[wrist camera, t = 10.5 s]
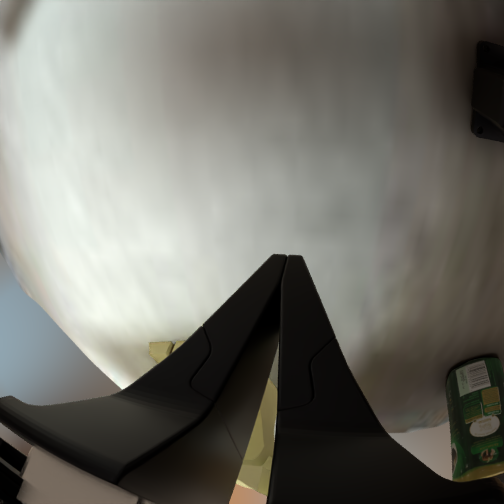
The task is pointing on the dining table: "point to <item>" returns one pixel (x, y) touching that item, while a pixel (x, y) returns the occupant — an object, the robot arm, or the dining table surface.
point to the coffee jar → (477, 419)
